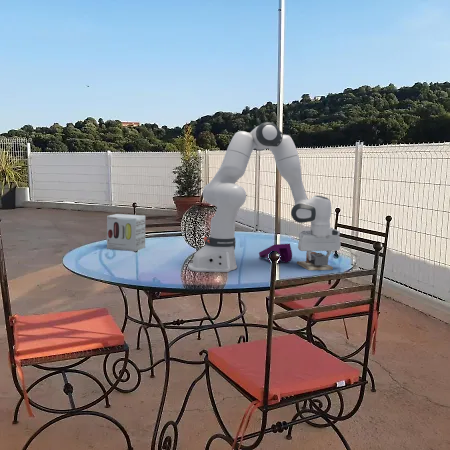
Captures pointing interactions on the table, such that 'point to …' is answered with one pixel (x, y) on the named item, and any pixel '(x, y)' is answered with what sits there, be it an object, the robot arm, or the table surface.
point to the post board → (311, 266)
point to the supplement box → (126, 232)
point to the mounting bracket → (281, 249)
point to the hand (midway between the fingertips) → (318, 260)
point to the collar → (319, 260)
